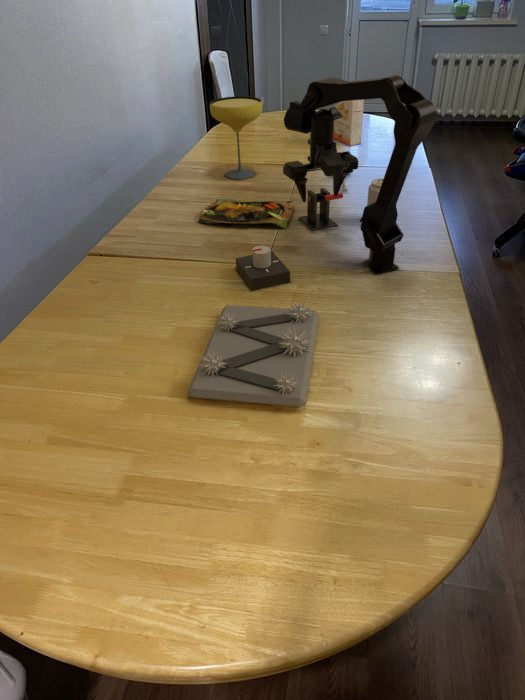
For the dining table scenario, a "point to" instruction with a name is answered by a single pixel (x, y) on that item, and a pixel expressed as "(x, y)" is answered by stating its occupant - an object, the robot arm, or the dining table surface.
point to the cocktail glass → (237, 122)
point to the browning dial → (261, 257)
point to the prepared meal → (248, 212)
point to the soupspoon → (344, 187)
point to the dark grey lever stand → (314, 219)
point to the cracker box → (349, 122)
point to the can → (374, 191)
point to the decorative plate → (258, 356)
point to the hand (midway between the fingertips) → (319, 198)
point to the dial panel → (262, 272)
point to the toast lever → (328, 197)
